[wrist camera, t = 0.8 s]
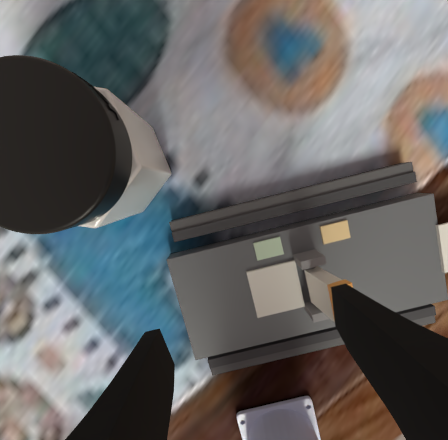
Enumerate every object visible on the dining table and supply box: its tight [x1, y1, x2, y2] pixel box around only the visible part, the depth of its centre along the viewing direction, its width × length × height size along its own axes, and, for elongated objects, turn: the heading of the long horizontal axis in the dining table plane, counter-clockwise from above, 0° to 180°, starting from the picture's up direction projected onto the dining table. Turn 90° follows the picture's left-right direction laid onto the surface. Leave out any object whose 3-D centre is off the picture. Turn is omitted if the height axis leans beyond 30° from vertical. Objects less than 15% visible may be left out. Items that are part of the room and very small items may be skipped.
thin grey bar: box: [208, 304, 436, 375], centre depth 25 cm, size 2×22×2 cm, turn 104°
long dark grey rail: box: [169, 162, 417, 242], centre depth 23 cm, size 2×22×2 cm, turn 104°
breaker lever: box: [304, 266, 353, 322], centre depth 20 cm, size 3×1×5 cm, turn 14°
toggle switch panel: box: [167, 193, 448, 360], centre depth 23 cm, size 10×28×4 cm, turn 104°
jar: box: [0, 55, 171, 234], centre depth 18 cm, size 9×8×12 cm
